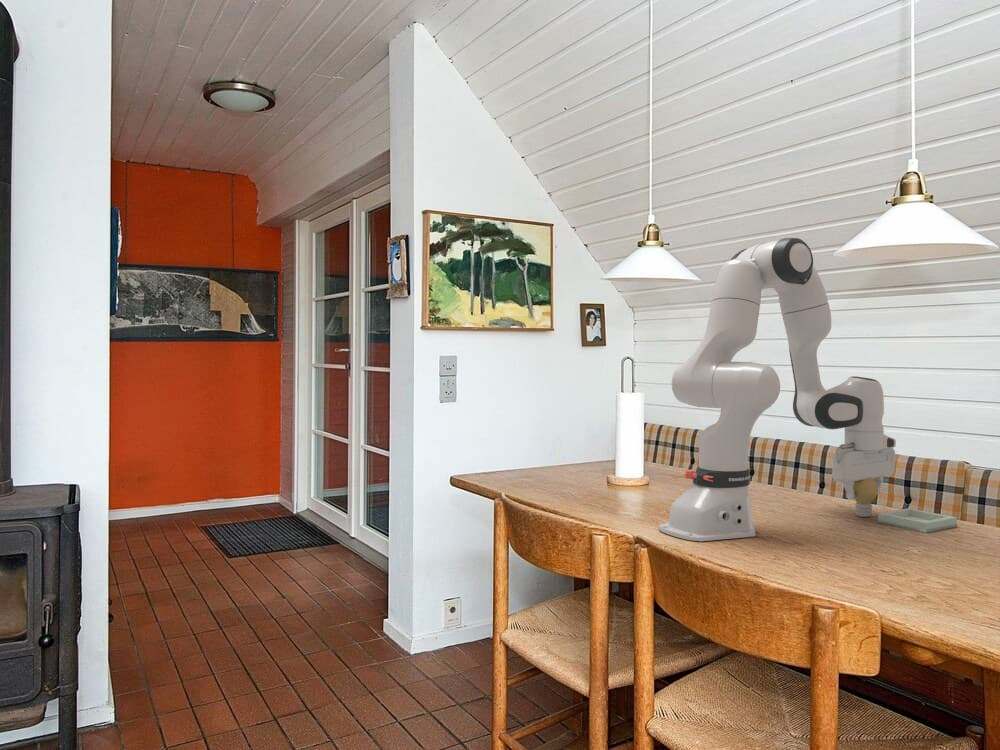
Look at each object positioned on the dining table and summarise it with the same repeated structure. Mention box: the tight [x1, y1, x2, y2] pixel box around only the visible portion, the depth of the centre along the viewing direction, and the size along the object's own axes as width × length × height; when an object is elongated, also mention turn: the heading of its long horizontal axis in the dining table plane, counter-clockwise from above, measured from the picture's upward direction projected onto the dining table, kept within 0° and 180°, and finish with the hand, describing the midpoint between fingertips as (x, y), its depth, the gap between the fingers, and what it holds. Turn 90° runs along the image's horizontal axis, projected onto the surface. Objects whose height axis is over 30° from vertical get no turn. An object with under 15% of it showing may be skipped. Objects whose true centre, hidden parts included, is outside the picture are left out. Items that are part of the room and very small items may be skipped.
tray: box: [877, 507, 958, 534], centre depth 184 cm, size 12×12×2 cm
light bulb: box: [853, 478, 879, 518], centre depth 193 cm, size 6×6×10 cm
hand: (863, 496), depth 194 cm, fingers open, 8 cm apart
